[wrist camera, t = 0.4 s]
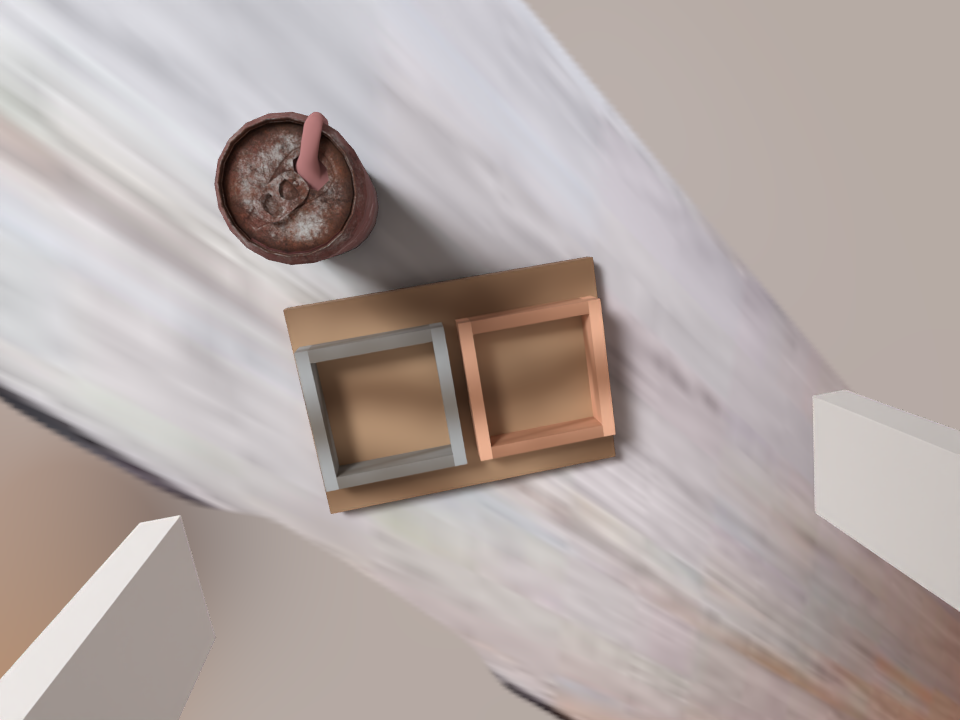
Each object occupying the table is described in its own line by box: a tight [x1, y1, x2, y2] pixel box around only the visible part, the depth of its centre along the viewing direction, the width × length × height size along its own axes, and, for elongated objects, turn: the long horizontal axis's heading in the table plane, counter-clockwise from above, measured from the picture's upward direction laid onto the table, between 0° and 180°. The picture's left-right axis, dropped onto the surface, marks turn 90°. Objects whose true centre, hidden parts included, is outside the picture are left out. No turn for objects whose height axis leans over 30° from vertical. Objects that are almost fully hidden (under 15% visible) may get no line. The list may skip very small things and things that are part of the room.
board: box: [283, 257, 615, 514], centre depth 39 cm, size 14×20×3 cm
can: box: [215, 112, 378, 265], centre depth 31 cm, size 6×6×14 cm
